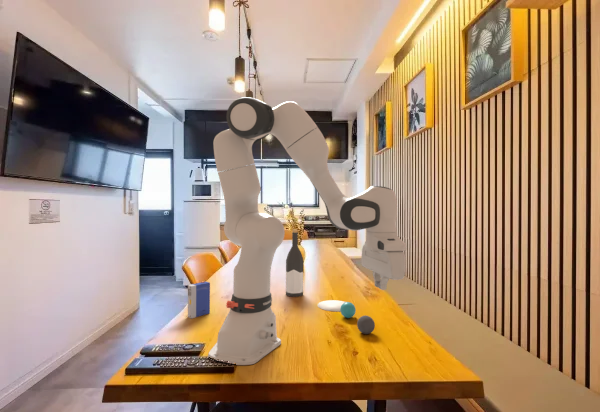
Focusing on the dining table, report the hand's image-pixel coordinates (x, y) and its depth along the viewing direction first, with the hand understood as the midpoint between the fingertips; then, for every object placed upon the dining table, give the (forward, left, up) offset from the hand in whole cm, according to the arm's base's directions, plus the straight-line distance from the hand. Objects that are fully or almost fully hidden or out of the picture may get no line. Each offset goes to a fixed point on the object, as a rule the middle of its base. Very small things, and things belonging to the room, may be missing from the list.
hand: (380, 288), depth 96 cm
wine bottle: (+44, +40, -17) cm, 62 cm away
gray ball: (+8, +5, -14) cm, 17 cm away
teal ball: (+21, +12, -14) cm, 28 cm away
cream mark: (+33, +19, -17) cm, 42 cm away
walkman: (+7, +66, -17) cm, 68 cm away
